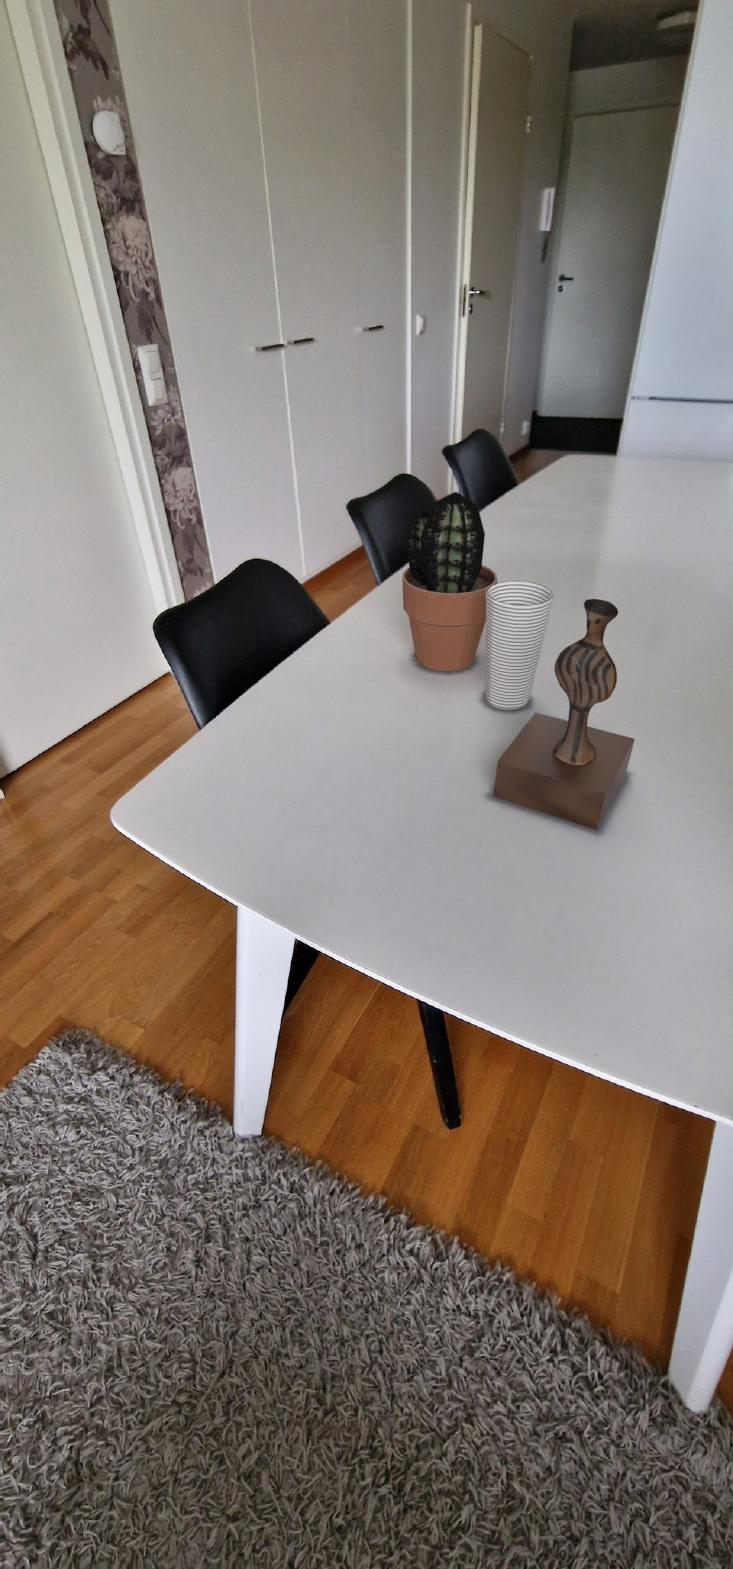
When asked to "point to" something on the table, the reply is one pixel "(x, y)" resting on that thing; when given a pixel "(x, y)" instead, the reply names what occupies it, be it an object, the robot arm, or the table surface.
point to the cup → (514, 640)
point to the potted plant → (446, 583)
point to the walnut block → (562, 772)
